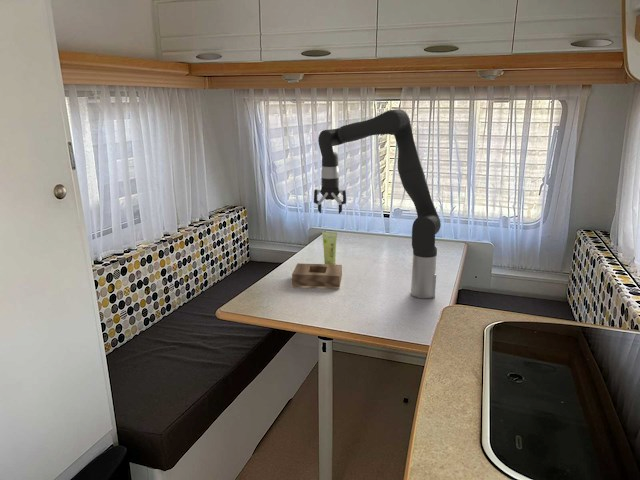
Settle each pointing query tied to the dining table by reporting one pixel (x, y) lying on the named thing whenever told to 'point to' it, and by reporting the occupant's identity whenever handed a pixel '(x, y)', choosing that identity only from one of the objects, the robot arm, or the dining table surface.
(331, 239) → the tube
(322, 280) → the slotted block
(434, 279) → the robot arm
